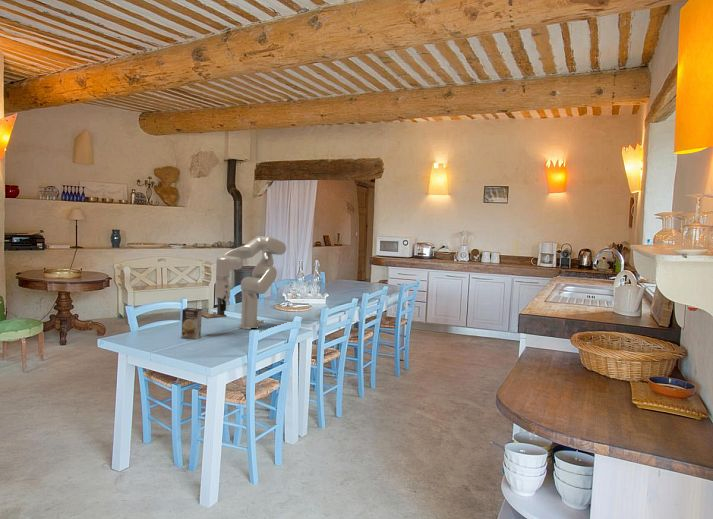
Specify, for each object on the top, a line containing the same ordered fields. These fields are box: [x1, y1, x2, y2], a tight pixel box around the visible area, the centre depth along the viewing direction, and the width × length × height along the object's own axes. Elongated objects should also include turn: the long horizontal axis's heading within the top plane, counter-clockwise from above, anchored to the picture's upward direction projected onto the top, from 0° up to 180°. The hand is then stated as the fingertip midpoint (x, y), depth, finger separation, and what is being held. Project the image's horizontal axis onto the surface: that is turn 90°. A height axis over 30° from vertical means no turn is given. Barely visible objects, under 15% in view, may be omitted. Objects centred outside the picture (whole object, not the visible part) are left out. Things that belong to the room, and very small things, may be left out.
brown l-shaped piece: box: [202, 298, 228, 320], centre depth 285 cm, size 12×7×11 cm, turn 131°
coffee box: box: [180, 307, 203, 340], centre depth 278 cm, size 9×6×16 cm
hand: (221, 309), depth 288 cm, fingers closed on brown l-shaped piece, 3 cm apart
